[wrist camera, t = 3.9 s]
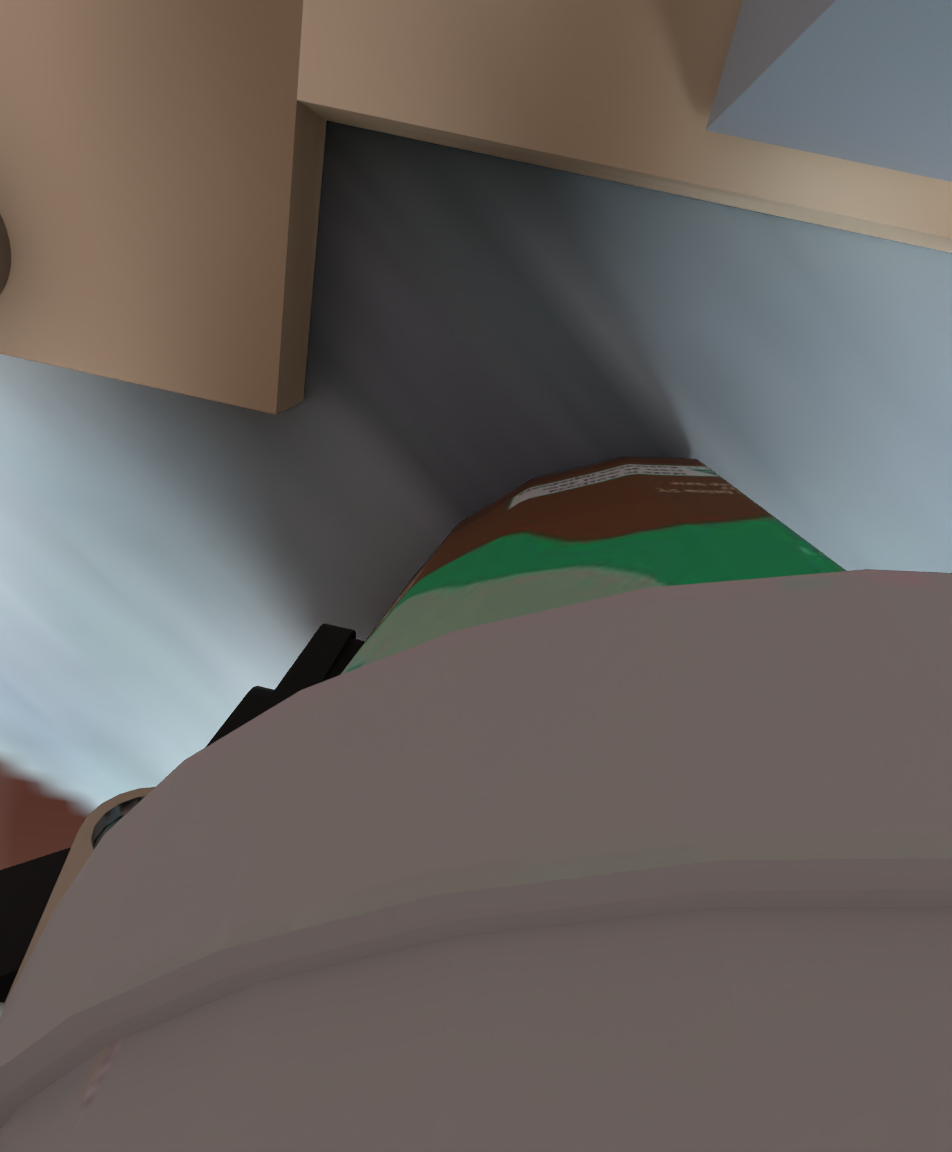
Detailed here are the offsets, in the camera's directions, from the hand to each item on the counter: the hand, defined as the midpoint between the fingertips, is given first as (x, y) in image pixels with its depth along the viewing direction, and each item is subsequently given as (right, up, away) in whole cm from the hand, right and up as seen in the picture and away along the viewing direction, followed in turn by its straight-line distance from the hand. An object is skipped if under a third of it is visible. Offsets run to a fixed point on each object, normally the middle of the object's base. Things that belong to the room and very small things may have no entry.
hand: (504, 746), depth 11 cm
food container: (0, +1, +2) cm, 2 cm away
